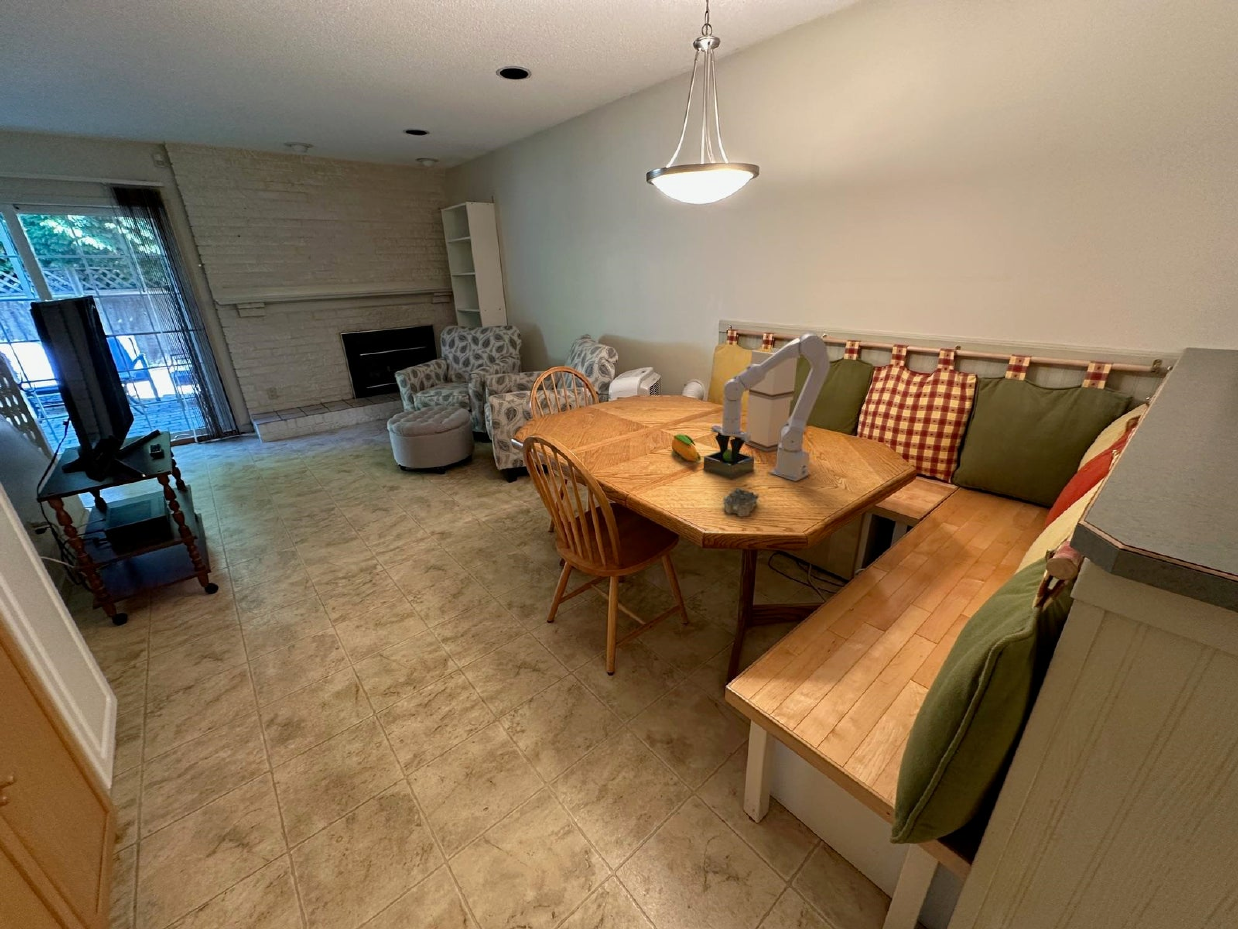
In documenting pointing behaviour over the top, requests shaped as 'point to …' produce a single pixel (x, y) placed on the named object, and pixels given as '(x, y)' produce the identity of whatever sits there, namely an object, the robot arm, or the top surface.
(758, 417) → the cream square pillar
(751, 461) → the dark grey open box
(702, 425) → the top surface
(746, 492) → the gray rock
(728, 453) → the pea
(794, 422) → the robot arm
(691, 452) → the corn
